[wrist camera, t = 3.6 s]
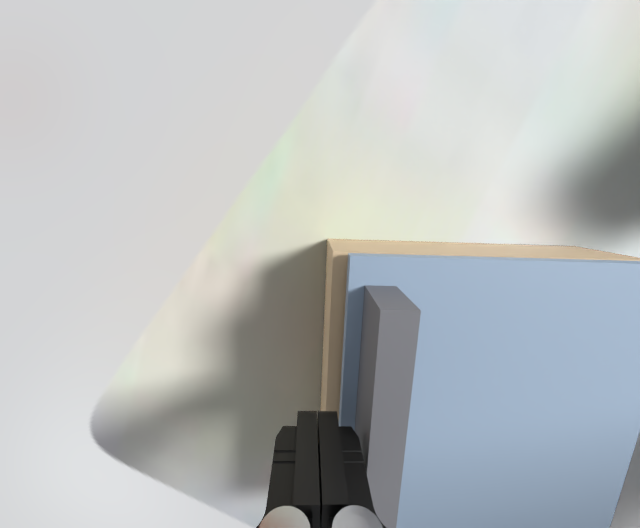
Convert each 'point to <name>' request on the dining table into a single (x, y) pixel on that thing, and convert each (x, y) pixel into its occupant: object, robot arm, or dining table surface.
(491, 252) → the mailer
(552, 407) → the lid
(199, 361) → the dining table surface
